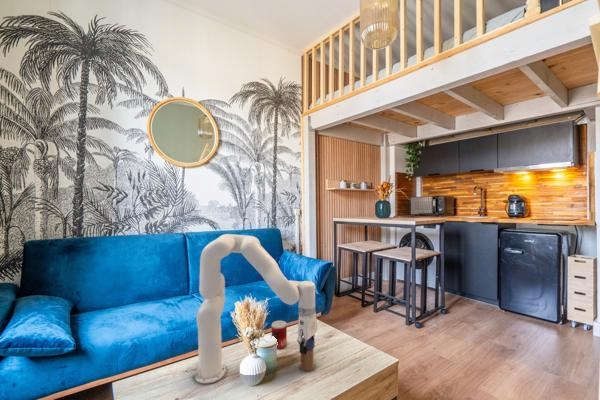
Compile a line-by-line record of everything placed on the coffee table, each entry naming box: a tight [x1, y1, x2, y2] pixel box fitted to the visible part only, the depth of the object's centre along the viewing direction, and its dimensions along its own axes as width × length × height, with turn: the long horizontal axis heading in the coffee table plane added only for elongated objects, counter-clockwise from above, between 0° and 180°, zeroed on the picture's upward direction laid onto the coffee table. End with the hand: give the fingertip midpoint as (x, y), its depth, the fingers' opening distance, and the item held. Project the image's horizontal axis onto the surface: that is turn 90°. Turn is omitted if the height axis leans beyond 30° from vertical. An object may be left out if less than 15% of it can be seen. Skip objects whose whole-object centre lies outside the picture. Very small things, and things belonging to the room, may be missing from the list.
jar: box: [300, 348, 315, 372], centre depth 124 cm, size 6×6×11 cm
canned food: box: [271, 320, 288, 350], centre depth 142 cm, size 8×8×11 cm
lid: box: [302, 338, 316, 350], centre depth 124 cm, size 7×7×2 cm
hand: (307, 349), depth 124 cm, fingers closed on lid, 6 cm apart
